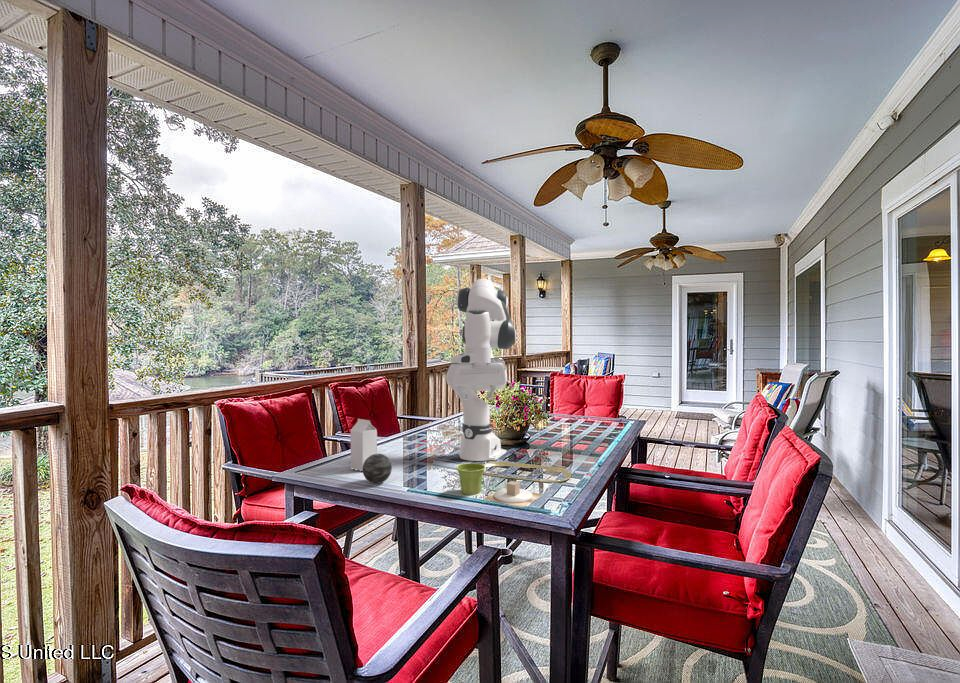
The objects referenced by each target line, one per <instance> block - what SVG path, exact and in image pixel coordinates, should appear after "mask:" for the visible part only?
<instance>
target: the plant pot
mask: <svg viewBox="0 0 960 683" xmlns="http://www.w3.org/2000/svg"><path fill="white" fill-rule="evenodd" d="M456 470H457V472H458V476H459V482H460V489H461V494H464V495H469V496H472V495H474V496H475V495H479V494H481V493H482V484H483V473H485V470H486V468H485V466H484V465H483V464H482V463H475V462H474V463H472V462H469V463H467V462H466V463H461V464H458V465H457V466H456Z"/></svg>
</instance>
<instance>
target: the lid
mask: <svg viewBox="0 0 960 683" xmlns="http://www.w3.org/2000/svg"><path fill="white" fill-rule="evenodd" d="M520 484H521V482H520V481H515V480H511V481H509V482H507V483H506V487H507V488H505V489H502V488H500V489H498V490H496V491H494V492H493V493H494V497H495V499H497V500H499V501H501V502H506V503H523V502H527V501H530V500H531V499H532V493H531V492H532V491H530V490H527V489H524V488H521V485H520Z"/></svg>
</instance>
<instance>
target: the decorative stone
mask: <svg viewBox="0 0 960 683" xmlns="http://www.w3.org/2000/svg"><path fill="white" fill-rule="evenodd" d="M392 467H393V464H392V461H391V460H390V458H389V457H388V456H386V455H385V454H383V453H377V454H373V455H371V456H369V457H368V458H367V459H366V460H365V462H364V464H363V472H362V474H363V476H364V478H365V479H366V480H367V481H368V482H369V483H372V484H381V483H383V482H385V481H387V480H388V479H389V477H390V476H391V474H392V471H393V468H392Z"/></svg>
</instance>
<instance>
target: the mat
mask: <svg viewBox="0 0 960 683" xmlns="http://www.w3.org/2000/svg"><path fill="white" fill-rule="evenodd" d="M505 488H507V486H505V487H502V488H501V489H505ZM530 492H531V493H532V499H531V500H530V501H527V502H523V503H506V502H501V501H499V500H497V499H495V497H494V493H495V492H493V493H491V494H489V495H487V496H485V497H483V498H482V500H485V501H489V502H494V503H497V504H498V503H499V504H504V505H508V506H513V507H517V508H522V509H524V507H526V506H528V505H529V504H531V503H532V502H533V501H534V502H535V500H537V499H538V498H540V497H541V496H543V495H544V494H543V493H538V492H533V491H530Z"/></svg>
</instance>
